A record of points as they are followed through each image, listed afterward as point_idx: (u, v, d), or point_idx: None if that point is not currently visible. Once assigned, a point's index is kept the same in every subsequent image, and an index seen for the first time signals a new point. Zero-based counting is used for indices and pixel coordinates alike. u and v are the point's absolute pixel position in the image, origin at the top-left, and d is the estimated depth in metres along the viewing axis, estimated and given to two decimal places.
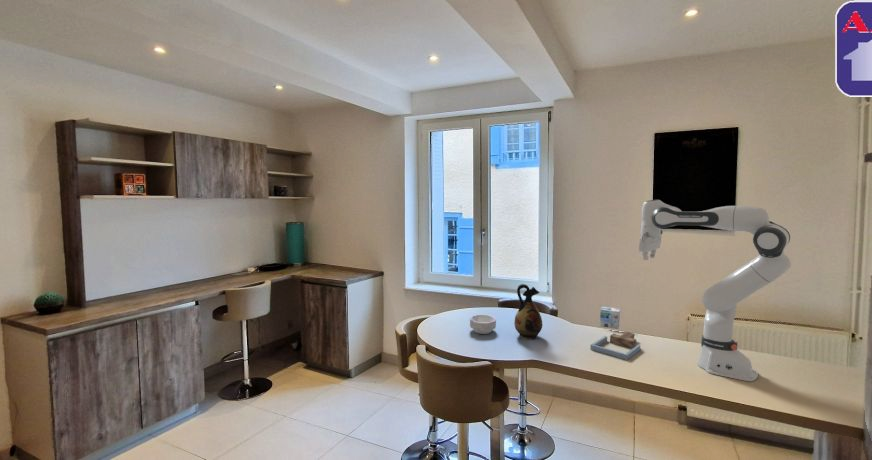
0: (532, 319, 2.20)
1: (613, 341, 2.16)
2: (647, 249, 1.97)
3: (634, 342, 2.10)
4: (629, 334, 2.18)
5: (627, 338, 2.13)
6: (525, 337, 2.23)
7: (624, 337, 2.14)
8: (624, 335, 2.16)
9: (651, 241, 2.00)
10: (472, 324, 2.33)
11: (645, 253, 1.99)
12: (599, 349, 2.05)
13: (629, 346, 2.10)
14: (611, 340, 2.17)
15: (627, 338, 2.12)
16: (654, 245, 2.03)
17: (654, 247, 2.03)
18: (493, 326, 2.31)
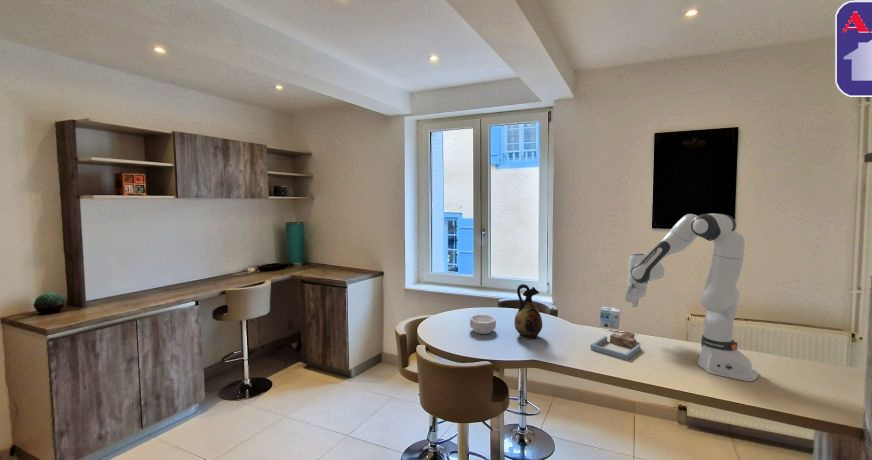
0: (532, 319, 2.20)
1: (613, 341, 2.16)
2: (633, 300, 2.16)
3: (634, 342, 2.10)
4: (629, 334, 2.18)
5: (627, 338, 2.12)
6: (525, 337, 2.23)
7: (624, 337, 2.14)
8: (624, 335, 2.16)
9: (637, 291, 2.20)
10: (472, 324, 2.33)
11: (634, 301, 2.21)
12: (599, 349, 2.05)
13: (629, 346, 2.10)
14: (611, 340, 2.17)
15: (627, 338, 2.12)
16: (639, 294, 2.22)
17: (639, 296, 2.22)
18: (493, 326, 2.31)
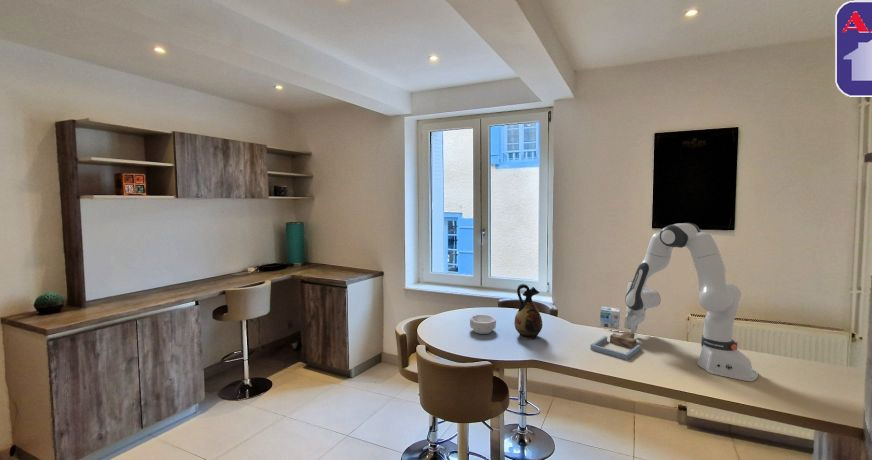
0: (532, 319, 2.20)
1: (613, 341, 2.16)
2: (631, 326, 2.17)
3: (634, 342, 2.10)
4: (629, 334, 2.18)
5: (627, 338, 2.12)
6: (525, 337, 2.23)
7: (624, 337, 2.14)
8: (624, 335, 2.16)
9: (635, 318, 2.21)
10: (472, 324, 2.33)
11: (633, 327, 2.23)
12: (599, 349, 2.05)
13: (629, 346, 2.10)
14: (611, 340, 2.17)
15: (627, 338, 2.12)
16: (638, 320, 2.24)
17: (638, 322, 2.24)
18: (493, 326, 2.31)
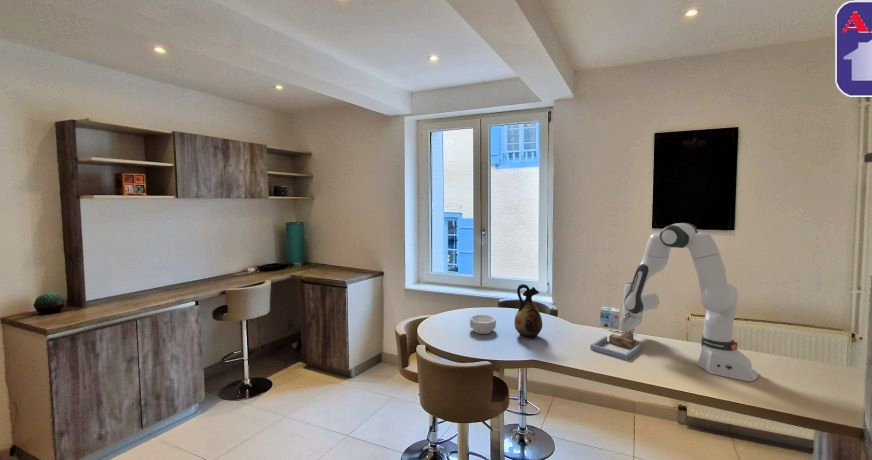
0: (532, 319, 2.20)
1: (612, 341, 2.15)
2: (628, 329, 2.14)
3: (633, 342, 2.09)
4: (628, 334, 2.17)
5: (626, 338, 2.12)
6: (525, 337, 2.23)
7: (623, 337, 2.13)
8: (623, 336, 2.16)
9: (632, 320, 2.18)
10: (472, 324, 2.33)
11: (629, 330, 2.19)
12: (599, 349, 2.05)
13: (628, 346, 2.09)
14: (610, 340, 2.16)
15: (626, 338, 2.12)
16: (635, 323, 2.20)
17: (635, 325, 2.20)
18: (493, 326, 2.31)
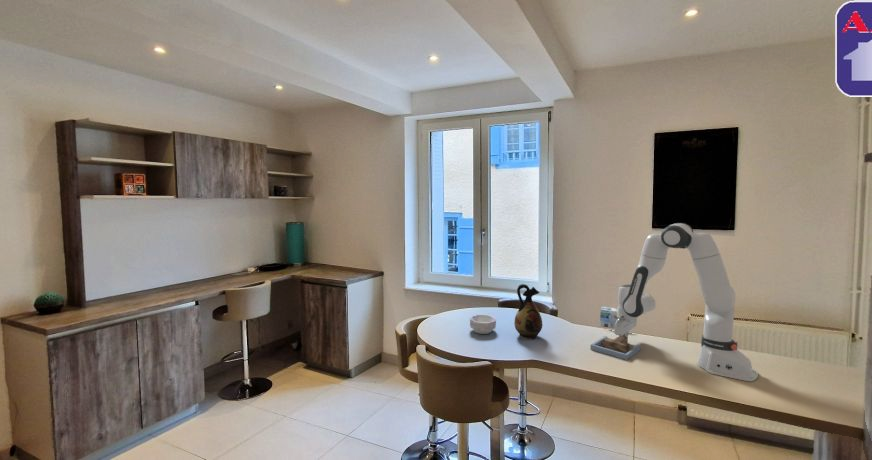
0: (532, 319, 2.20)
1: (606, 345, 2.10)
2: (622, 333, 2.09)
3: (627, 346, 2.04)
4: (622, 338, 2.12)
5: (620, 342, 2.07)
6: (525, 337, 2.23)
7: (617, 341, 2.08)
8: (617, 339, 2.11)
9: (626, 324, 2.13)
10: (472, 324, 2.33)
11: (624, 333, 2.14)
12: (599, 349, 2.05)
13: (622, 350, 2.04)
14: (604, 344, 2.11)
15: (620, 342, 2.07)
16: (629, 326, 2.15)
17: (630, 328, 2.15)
18: (493, 326, 2.31)
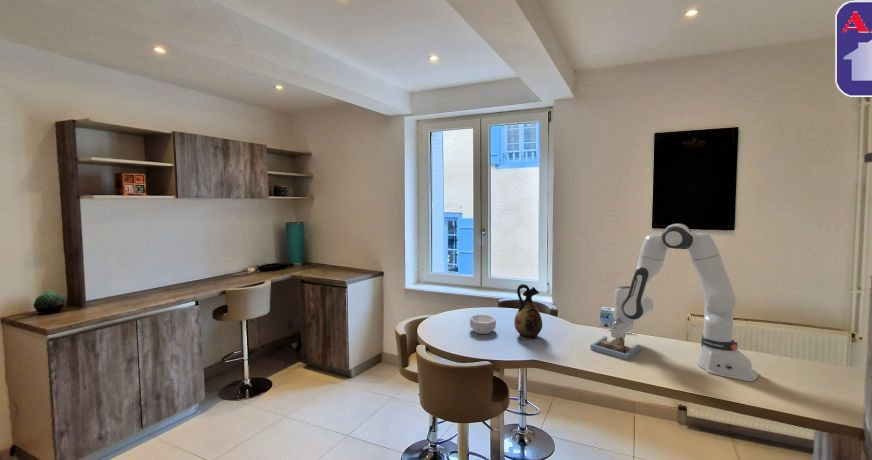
0: (532, 319, 2.20)
1: None
2: (619, 335, 2.06)
3: (623, 349, 2.01)
4: (619, 340, 2.09)
5: (616, 345, 2.04)
6: (525, 337, 2.23)
7: (613, 344, 2.05)
8: (613, 342, 2.08)
9: (623, 326, 2.10)
10: (472, 324, 2.33)
11: (620, 336, 2.11)
12: (599, 349, 2.05)
13: None
14: (600, 346, 2.08)
15: (617, 345, 2.04)
16: (626, 329, 2.12)
17: (626, 330, 2.12)
18: (493, 326, 2.31)
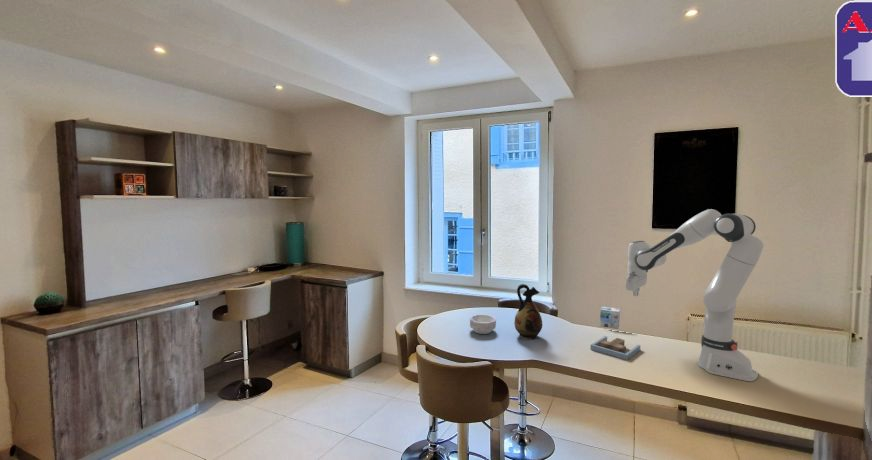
0: (532, 319, 2.20)
1: None
2: (633, 288, 2.10)
3: (623, 349, 2.01)
4: (619, 340, 2.09)
5: (616, 345, 2.04)
6: (525, 337, 2.23)
7: (613, 344, 2.05)
8: (613, 342, 2.08)
9: (637, 280, 2.14)
10: (472, 324, 2.33)
11: (635, 290, 2.16)
12: (599, 349, 2.05)
13: None
14: (600, 346, 2.08)
15: (617, 345, 2.04)
16: (640, 283, 2.17)
17: (640, 285, 2.17)
18: (493, 326, 2.31)
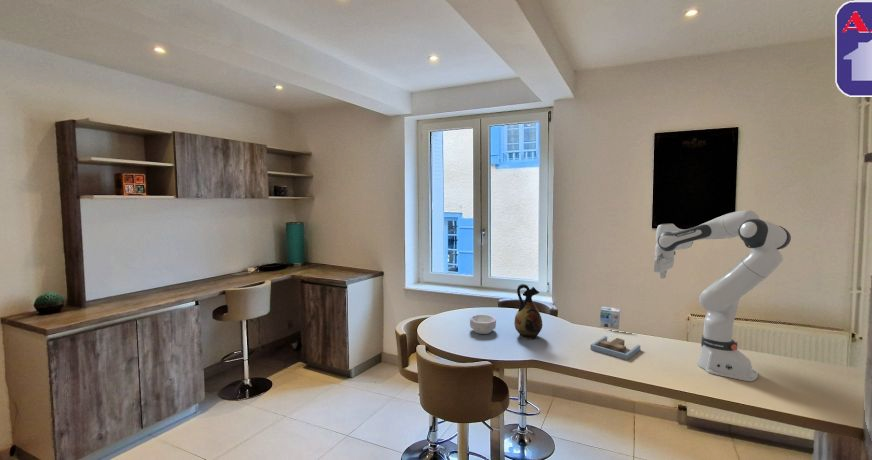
0: (532, 319, 2.20)
1: None
2: (661, 270, 2.11)
3: (623, 349, 2.01)
4: (619, 340, 2.09)
5: (616, 345, 2.04)
6: (525, 337, 2.23)
7: (613, 344, 2.05)
8: (613, 342, 2.08)
9: (665, 262, 2.15)
10: (472, 324, 2.33)
11: (662, 272, 2.16)
12: (599, 349, 2.05)
13: None
14: (600, 346, 2.08)
15: (617, 345, 2.04)
16: (668, 265, 2.17)
17: (668, 267, 2.18)
18: (493, 326, 2.31)
